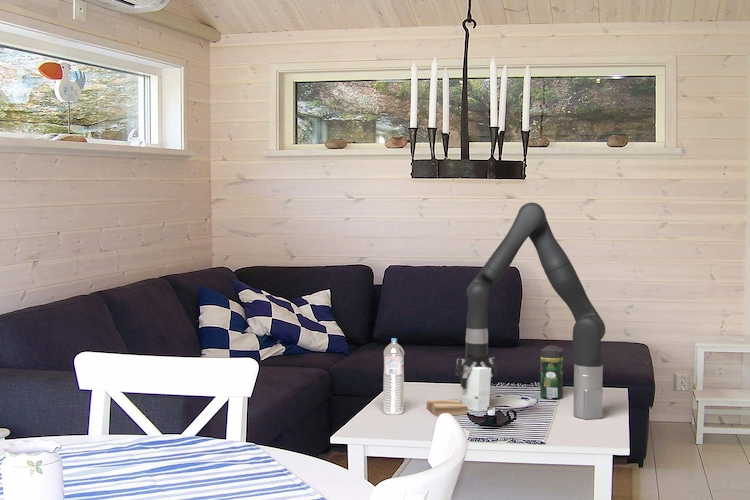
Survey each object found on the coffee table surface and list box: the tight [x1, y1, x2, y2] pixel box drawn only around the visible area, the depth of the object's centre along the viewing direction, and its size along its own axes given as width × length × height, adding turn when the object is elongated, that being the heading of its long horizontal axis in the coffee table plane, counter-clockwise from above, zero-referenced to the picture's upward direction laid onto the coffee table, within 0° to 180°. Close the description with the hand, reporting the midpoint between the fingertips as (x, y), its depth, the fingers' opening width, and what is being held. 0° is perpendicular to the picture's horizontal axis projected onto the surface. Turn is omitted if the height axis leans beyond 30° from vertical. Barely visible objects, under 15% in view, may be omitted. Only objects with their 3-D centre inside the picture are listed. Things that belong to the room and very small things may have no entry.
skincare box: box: [461, 364, 492, 413], centre depth 319 cm, size 8×6×15 cm
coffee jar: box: [539, 345, 564, 399], centre depth 339 cm, size 10×8×19 cm
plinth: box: [426, 398, 469, 417], centre depth 315 cm, size 11×11×3 cm
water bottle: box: [382, 337, 405, 416], centre depth 313 cm, size 7×7×25 cm
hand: (476, 388), depth 319 cm, fingers open, 8 cm apart
